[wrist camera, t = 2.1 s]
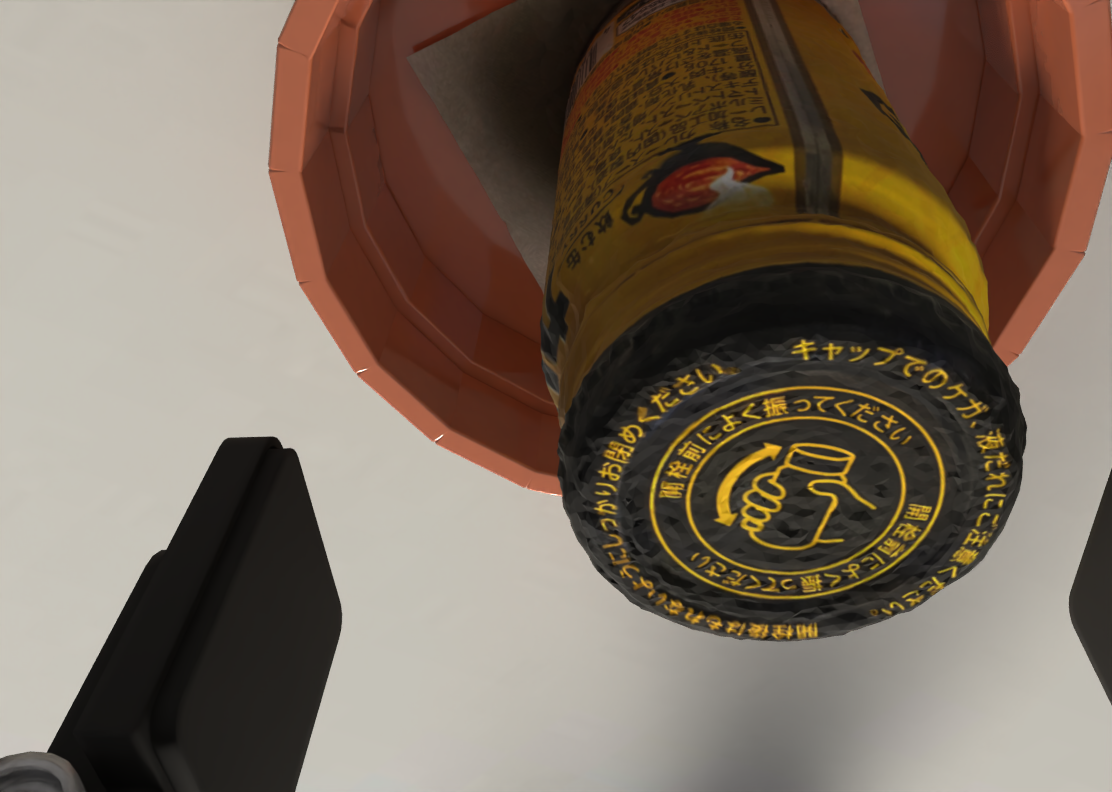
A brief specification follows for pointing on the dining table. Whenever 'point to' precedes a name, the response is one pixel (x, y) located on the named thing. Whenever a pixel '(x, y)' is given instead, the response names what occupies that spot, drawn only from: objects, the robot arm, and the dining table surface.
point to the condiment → (741, 306)
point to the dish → (503, 276)
